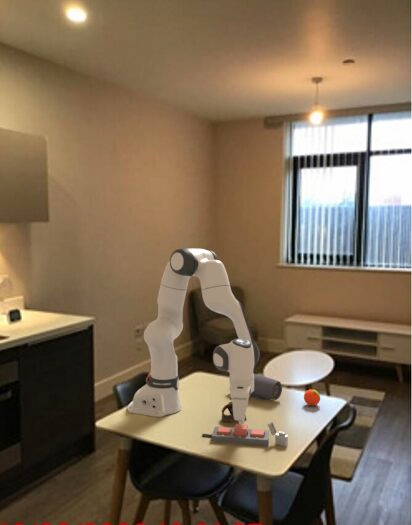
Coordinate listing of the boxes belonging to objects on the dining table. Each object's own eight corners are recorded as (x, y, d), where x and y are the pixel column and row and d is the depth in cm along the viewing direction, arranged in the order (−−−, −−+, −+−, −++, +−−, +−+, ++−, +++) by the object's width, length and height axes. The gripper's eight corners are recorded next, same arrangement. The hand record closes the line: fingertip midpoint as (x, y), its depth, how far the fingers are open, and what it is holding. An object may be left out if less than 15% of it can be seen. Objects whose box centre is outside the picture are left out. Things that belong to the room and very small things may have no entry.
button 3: (250, 441, 173) (251, 433, 172) (251, 437, 176) (251, 429, 176) (263, 442, 172) (263, 434, 172) (263, 438, 176) (264, 430, 175)
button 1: (217, 439, 175) (217, 431, 174) (218, 434, 178) (218, 427, 178) (229, 440, 174) (229, 432, 174) (230, 435, 177) (230, 427, 177)
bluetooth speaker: (229, 393, 224) (229, 372, 223) (241, 388, 231) (241, 367, 230) (271, 405, 209) (271, 383, 208) (282, 399, 216) (282, 377, 215)
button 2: (234, 436, 174) (234, 428, 173) (235, 432, 177) (235, 424, 177) (246, 437, 173) (246, 429, 173) (247, 433, 176) (247, 425, 176)
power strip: (200, 443, 173) (200, 434, 173) (204, 433, 181) (204, 425, 181) (268, 448, 170) (268, 439, 169) (269, 438, 177) (269, 429, 177)
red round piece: (325, 406, 208) (325, 390, 207) (314, 410, 204) (315, 394, 203) (310, 401, 214) (311, 385, 214) (300, 404, 210) (300, 388, 210)
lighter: (287, 447, 171) (288, 425, 170) (286, 449, 169) (286, 426, 169) (268, 442, 174) (269, 421, 173) (267, 444, 173) (267, 422, 172)
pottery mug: (251, 425, 190) (243, 410, 186) (229, 436, 189) (221, 422, 186) (242, 406, 201) (235, 392, 198) (222, 417, 200) (214, 403, 197)
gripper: (235, 375, 184) (235, 411, 185) (229, 394, 164) (229, 434, 165) (252, 376, 183) (252, 412, 184) (248, 395, 163) (248, 435, 164)
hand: (241, 422), depth 175 cm, fingers closed
